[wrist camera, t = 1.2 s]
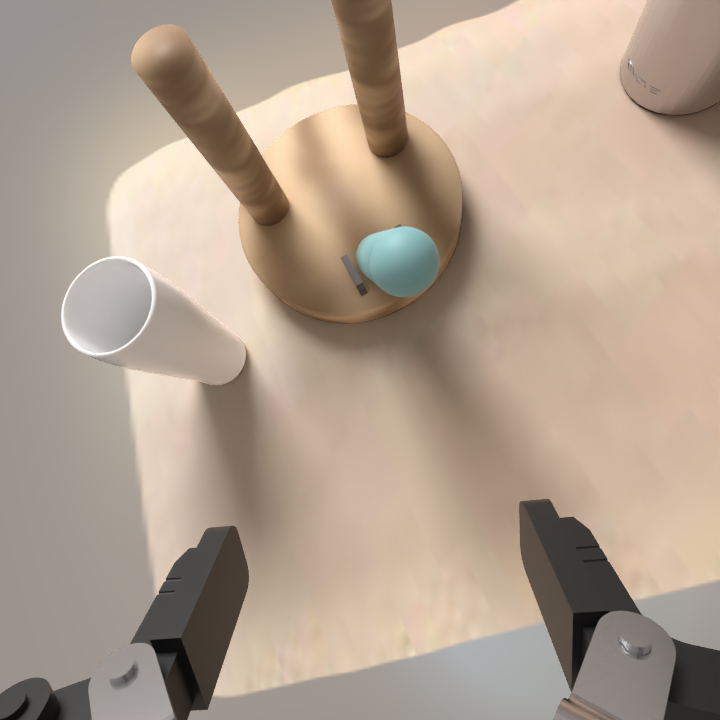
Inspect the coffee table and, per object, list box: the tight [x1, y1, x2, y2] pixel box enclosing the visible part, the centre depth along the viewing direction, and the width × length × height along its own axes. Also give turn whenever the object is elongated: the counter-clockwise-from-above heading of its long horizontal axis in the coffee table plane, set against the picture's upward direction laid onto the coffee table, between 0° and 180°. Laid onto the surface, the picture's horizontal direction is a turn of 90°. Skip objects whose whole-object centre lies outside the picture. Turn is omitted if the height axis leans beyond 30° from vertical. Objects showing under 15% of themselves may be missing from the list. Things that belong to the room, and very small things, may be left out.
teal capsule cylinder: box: [356, 226, 440, 297], centre depth 30 cm, size 4×4×17 cm
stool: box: [131, 0, 463, 323], centre depth 34 cm, size 20×20×20 cm
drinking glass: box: [61, 256, 246, 385], centre depth 36 cm, size 7×7×15 cm
